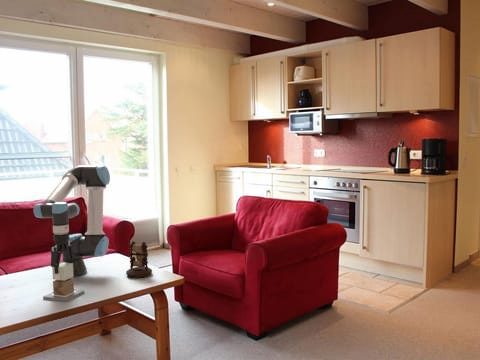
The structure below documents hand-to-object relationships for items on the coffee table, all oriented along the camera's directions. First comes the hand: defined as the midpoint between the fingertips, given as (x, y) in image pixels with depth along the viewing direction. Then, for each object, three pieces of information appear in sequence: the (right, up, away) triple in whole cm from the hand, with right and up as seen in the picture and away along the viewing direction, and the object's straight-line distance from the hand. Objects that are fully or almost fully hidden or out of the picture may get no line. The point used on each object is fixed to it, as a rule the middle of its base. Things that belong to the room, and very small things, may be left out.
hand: (63, 277), depth 238 cm
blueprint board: (0, -10, +1) cm, 10 cm away
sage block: (0, 0, 0) cm, 0 cm away
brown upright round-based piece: (+31, -6, +36) cm, 48 cm away
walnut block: (0, -8, +1) cm, 8 cm away
